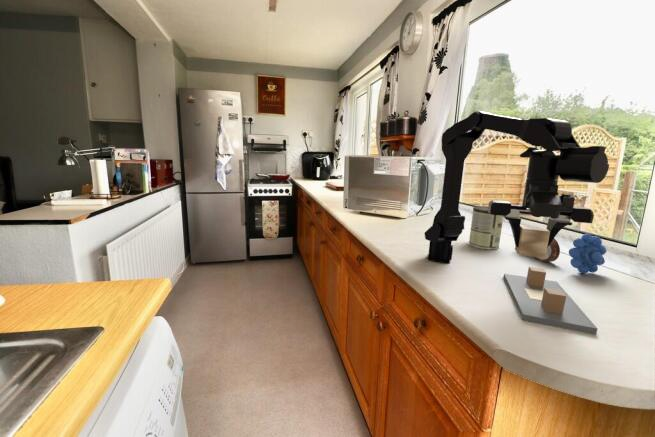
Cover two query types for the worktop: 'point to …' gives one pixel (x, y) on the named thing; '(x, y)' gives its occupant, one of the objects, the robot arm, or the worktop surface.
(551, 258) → the tin
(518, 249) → the maple block
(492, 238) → the coffee can
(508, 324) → the worktop surface
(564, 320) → the board
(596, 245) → the grapes
